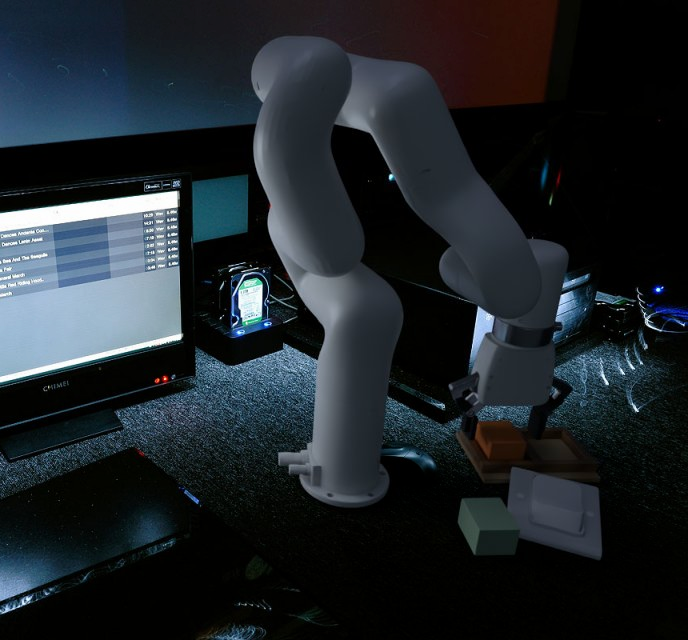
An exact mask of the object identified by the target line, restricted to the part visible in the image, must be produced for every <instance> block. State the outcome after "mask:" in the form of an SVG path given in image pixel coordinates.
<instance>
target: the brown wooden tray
mask: <svg viewBox="0 0 688 640" xmlns="http://www.w3.org/2000/svg"><path fill="white" fill-rule="evenodd" d="M515 429H516V430H517V431H518V432H519V434H520V435H521V436H522V438H523V439H524V440H525V442H526V443H527V444H526V448H525V453H524V458H523V460H497V461H487V459H486V458H485V456H484V455H483V453H482V452H481V450H480V448H479V447H478V445H477V444H476V442H475V441H474V440H469V439H468V438H467V436H466V434H465V433H464V432H463V431H462V430H461V427H460V429H459V431H456V432H455V437H456V439H457V441H458V443H459V444H460V446H461V447H462V449H463V452H464V453H465V455H466V456H467V457H468V459H469V461H470V463H471V464H472V466H473V467H474V469H475V471H476V473H477V474H478V476H479V477H480V479H481V481H482V482H483V484H510V475H511V469H512V467H517V468H521V469H525V470H529V471H533V472H537V473H542V474H546V475H550V476H554V477H558V478H562V479H566V480H570V481H574V482H578V483H582V484H584V483H600V482H601V476H600V475H599V474H598V473H597V469H598V467H599V463H598V461H596V459H594V457H593V456H592V454H590V453H589V452H588V451H587V449H586V448H585V447H584V446H583V445H582V443H580V442H579V440H578V439H577V438H576V437H575V436H574V435H573V434H572V433H571V431H570V430H569V429H568V428H567V427H565V426H564V427H563V426H562V427H561V426H560V427H558V426H557V427H551V426H550V427H545V431H544V432H543V433H542V437H541V440H536V439H535V438H534V437H533V436H532V435H531V433H530V432H529V431H528V429H527V427H515Z"/></svg>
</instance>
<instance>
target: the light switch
mask: <svg viewBox="0 0 688 640" xmlns="http://www.w3.org/2000/svg"><path fill="white" fill-rule="evenodd" d="M508 486H509V487H508V495H507V496H508V497H507V506H506V508H507V509H508V511H509V512H510V514H511V516H512V517H513V519H514V520H515V522H516V523H517V525H518V526H519V528H520V534H519V538H518V539H521V540H522V539H523V540H525V541H528V542H533V543H535V544H539V545H544V546H546V547H550V548H554V549H556V550H561V551H564V552H568V553H571V554H575V555H578V556H582V557H586V558H589V559H593V560H595V561H601V559H602V556H603V543H602V542H603V541H602V522H601V507H600V506H601V505H600V490H599V488H598V487H597V486H594V485H590V484H586V483H578V482H574V481H570V480H566V479H562V478H558V477H554V476H550V475H546V474H542V473H537V472H533V471H529V470H525V469H521V468H517V467H512V469H511V475H510V483H509V485H508Z"/></svg>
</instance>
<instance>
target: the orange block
mask: <svg viewBox="0 0 688 640" xmlns="http://www.w3.org/2000/svg"><path fill="white" fill-rule="evenodd" d="M515 428H516V427H515V426H514V425H513V423H512V422H511V420H478V424H477V430H476V435H475V439H474V441H475V442H476V444H477V445H478V447H479V448H480V450H481V452H482V453H483V455H484V456H485V458H486V459H487V461H497V460H523V458H524V453H525V448H526V444H527V443H526V442H525V440H524V439H523V438H522V436H521V435H520V434H519V432H518V431H517V430H516V429H515Z"/></svg>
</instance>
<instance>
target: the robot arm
mask: <svg viewBox="0 0 688 640" xmlns="http://www.w3.org/2000/svg"><path fill="white" fill-rule="evenodd" d="M250 73H251V84H252V87H253V91H254V93H255V95H256V96H257V98H258V99H259V100H260V102H261V103H262V105H261V108H260V110H259V113H258V117H257V120H256V125H255V130H254V135H253V146H252V149H253V150H252V151H253V160H254V164H255V168H256V172H257V176H258V178H259V180H260V183H261V185H262V187H263V190H264V192H265V194H266V196H267V199H268V201H269V204H270V207H269V212H268V214H267V215H268V216H267V229H268V233H269V236H270V239H271V242H272V244H273V246H274V248H275V250H276V252H277V254H278V256H279V258H280V260H281V262H282V264H283V266H284V268H285V270H286V272H287V274H288V277H289V278H290V280H291V282H292V284H293V286H294V288H295V290H296V291H297V293H298V295H299V297H300V299H301V300H302V302H303V303H304V305H305V306H306V308H307V309H308V310H309V311H310V312H311V313H312V314H313V316H314V317H316V319H317V320H318V322H319V323H320V324H321V325H322V327H323V329H324V339H323V344H322V347H321V350H320V351H319V355H318V357H317V358H318V359H317V362H316V363H317V365H316V373H315V391H314V392H315V393H314V394H315V395H314V408H313V410H314V411H313V426H312V442H307V444H306V449H300V451H299V452H291V451H289V452H288V451H284V452H283V451H282V452H281V451H280V452H278V455H277V457H278V466H280V467H288V475H289V476H290V475H291V476H292V475H294V476H295V475H297V476H298V475H299V481H300V484H301V486H302V487H303V489H304V490H305V491H306V492H307V493H308V494H309V495H310V496H312V497H313V498H315V499H317V500H318V501H320V502H322V503H325V504H327V505H330V506H334V507H339V508H346V509H348V508H349V509H357V508H364V507H368V506H372V505H374V504H376V503H378V502H380V501H381V500H382V499H383V498H384V497H385V496H386V495H387V493H388V490H389V488H390V476H389V472H388V470H387V469H386V468H385V466H384V465H383V464H382V463H381V457H382V449H383V439H384V438H383V437H384V431H385V420H386V413H387V411H386V410H387V404H388V403H387V402H388V395H389V385H390V378H391V377H390V376H391V368H392V362H393V357H394V354H395V350H396V347H397V344H398V341H399V338H400V336H401V335H400V334H401V331H402V328H403V324H404V308H403V305H402V301H401V299H400V296H399V295H398V293H397V292H396V290H395V289H394V288H393V286H392V285H391V284H390V283H388V281H386V280H385V279H384V278H383V277H382V276H380V275H379V274H378V273H377V272H375V271H374V270H373V269H371V268H369V267H368V266H367V265H365V264H364V263H363V262H361V261H362V258H363V256H364V252H365V245H366V241H365V240H366V239H365V233H364V229H363V225H362V222H361V221H360V218H359V216H358V214H357V212H356V210H355V208H354V206H353V203H352V201H351V199H350V196H349V194H348V192H347V190H346V187H345V185H344V183H343V180H342V178H341V176H340V174H339V170H338V168H337V165H336V162H335V159H334V156H333V152H332V144H331V143H332V142H331V140H332V133H333V130H334V127H335V125H338V126H342V127H347V128H352V129H357V130H360V131H363V132H365V133H368V134H370V135H371V136H372V138H373V140H374V142H375V144H376V145H377V147H378V149H379V152H380V154H381V155H382V157H383V159H384V161H385V162H386V164H387V167H388V168H389V171H390V172H391V175H392V177H393V178H394V180H395V182H396V184H397V186H398V188H399V190H400V192H401V194H402V196H403V198H404V200H405V201H406V203H407V205H408V206H409V207H410V208H411V209H412V210H413V212H414V213H415V215H417V216H418V217H419V218H420V219H421V220H422V222H424V223H425V224H426V225H428V226H429V227H430V228H431V229H432V230H433V231H435V232H436V233H437V234H438V235H440V236H441V237H442V239H444V240H445V241H446V242H447V243H448V244H449V246H450V247H448V248H447V249H446V250H445V251H444V253H443V254H442V255H441V257H440V260H439V266H438V269H439V274H440V277H441V279H442V281H443V283H445V285H446V286H447V287H449V288H450V290H452V291H453V292H455V293H456V294H458V295H460V296H461V297H462V298H464V299H466V300H467V301H469V302H471V303H472V304H474V305H476V306H477V307H478V308H480V309H481V310H482V311H484V312H485V313H487V314H489V315H490V316H492V317H493V321H492V323H493V324H492V327H491V331H489V332H485V333H484V335H483V338H482V339H481V342H480V345H479V347H478V348H477V352H476V355H475V358H474V361H473V365H472V369H471V373H470V374H469V375H467V376H465V377H463V378H459V379H458V380H455V381H453V382H451V383H449V384H448V390H449V391H450V394H451V396H452V399H453V400H454V402H455V403H456V405H457V406H458V408H460V409H461V410H462V414H461V421H460V428H461V430H462V431H463V432H464V433H465V434H466V436H467V438H468V439H469V440H474V439H475V435H476V430H477V424H478V421H479V416H478V415H477V414H478V413H479V412H480V411H482V410H483V409H484V408H485V407H531V408H530V412H529V415H528V416H529V417H528V421H527V427H526V428H527V429H528V431H529V432H530V433H531V435H532V436H533V437H534V438H535V439H536V440H541V437H542V433H543V432H544V431H545V428H547V423H548V418H549V417H551V416H552V415H554V411H556V410H557V409H558V408H559V407H561V406H562V405H564V404H565V403H564V402H565V399H567V398H568V397H569V396H570V394H571V393H572V392H573V391H574V387H573V386H572V385H571V384H570V382H567V381H565V380H563V379H561V378H559V377H557V376H556V375H555V368H556V347H555V345H556V344H555V341H554V334H555V333H557V332H562V331H563V329H564V324H563V322H562V321H556V320H557V315H558V311H559V306H560V301H561V298H562V294H563V288H564V284H565V279H566V275H567V271H568V266H569V259H570V256H569V255H570V254H569V252H568V250H567V249H566V248H565V246H563V245H561V244H559V243H557V242H554V241H550V240H546V239H538V238H527V236H526V235H525V233H524V231H523V229H522V228H521V226H520V225H519V223H518V222H517V221H516V220H515V218H514V217H513V215H512V214H511V212H509V210H508V209H507V208H506V206H505V205H504V204H503V202H502V201H501V200H500V199H499V198H498V196H497V195H496V193H495V192H494V191H493V189H492V188H491V187H490V186H489V184H488V183H487V182H486V180H485V179H484V178H482V176H481V175H480V174H479V172H478V171H477V170H476V167H475V166H474V163H473V162H472V160H471V158H470V156H469V153H468V151H467V149H466V146H465V145H464V143H463V140H462V138H461V136H460V133H459V131H458V129H457V126H456V124H455V122H454V120H453V118H452V115H451V112H450V110H449V108H448V106H447V103H446V101H445V99H444V97H443V95H442V93H441V90H440V88H439V86H438V84H437V82H436V81H435V79H434V77H433V75H431V73H430V72H429V70H426V68H424V67H423V66H422V65H421V66H420V65H418V64H416V63H412V62H407V61H400V60H399V61H398V60H388V59H379V58H373V57H367V56H363V55H360V54H359V55H358V54H353V53H349V52H346V51H345V49H343V48H342V46H340V45H339V44H338V43H336V42H335V41H333V40H331V39H329V38H326V37H322V36H313V35H301V36H300V35H285V36H279V37H276V38H274V39H272V40H270V41H268V42H267V43H266V44H265V45H263V46H262V48H261V49H260V50H259V51H258V52H257V54H256V55H255V58H254V61H253V62H252V65H251V72H250ZM553 388H555V389H556V390H555V391H554V392H552V389H553ZM467 390H469V391H470V392H471V393H470V394H469V395H468V396H466V397H464V395H463V393H464V391H467ZM551 392H552V393H551Z"/></svg>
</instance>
